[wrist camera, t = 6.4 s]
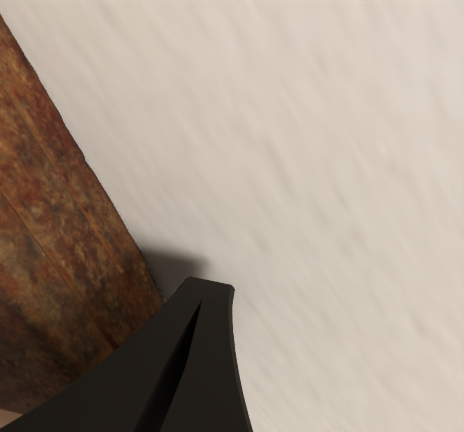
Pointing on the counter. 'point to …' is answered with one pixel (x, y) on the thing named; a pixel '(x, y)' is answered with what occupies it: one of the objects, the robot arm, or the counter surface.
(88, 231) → the brick
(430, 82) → the counter surface
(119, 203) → the counter surface
